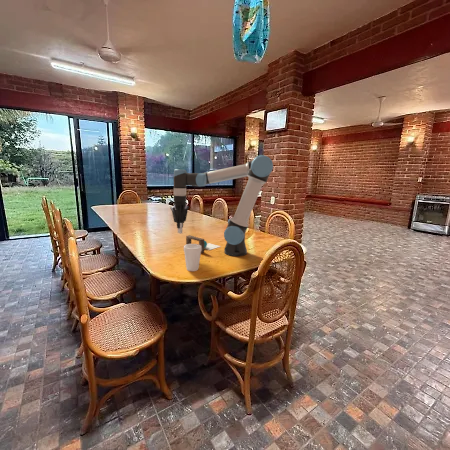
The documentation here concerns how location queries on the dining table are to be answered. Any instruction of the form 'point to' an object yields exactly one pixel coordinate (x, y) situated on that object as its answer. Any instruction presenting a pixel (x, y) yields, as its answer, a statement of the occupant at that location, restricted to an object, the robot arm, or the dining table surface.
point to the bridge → (201, 241)
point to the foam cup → (192, 256)
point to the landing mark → (211, 246)
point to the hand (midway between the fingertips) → (180, 233)
